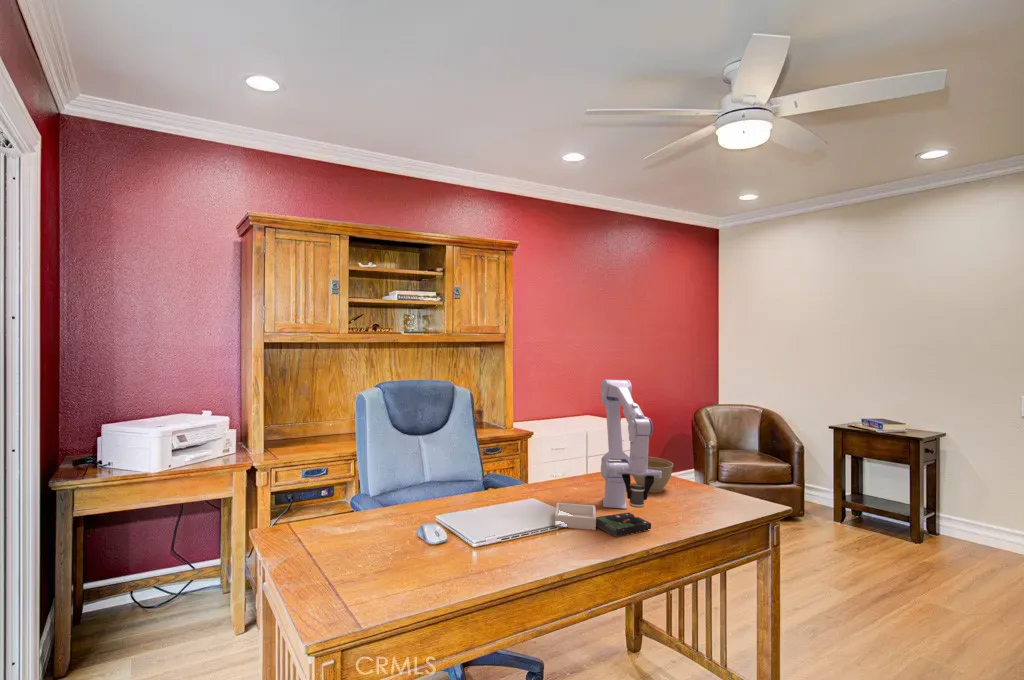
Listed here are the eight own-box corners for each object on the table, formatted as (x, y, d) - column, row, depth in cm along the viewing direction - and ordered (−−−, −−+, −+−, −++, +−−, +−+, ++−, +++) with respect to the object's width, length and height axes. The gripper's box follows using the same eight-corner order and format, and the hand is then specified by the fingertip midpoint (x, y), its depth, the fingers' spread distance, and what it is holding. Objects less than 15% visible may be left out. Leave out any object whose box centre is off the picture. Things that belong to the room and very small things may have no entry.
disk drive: (627, 520, 184) (593, 525, 176) (628, 512, 184) (594, 516, 176) (651, 532, 175) (616, 537, 167) (652, 523, 175) (617, 528, 167)
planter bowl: (621, 488, 218) (623, 461, 218) (641, 481, 230) (642, 454, 230) (660, 498, 208) (661, 469, 207) (678, 489, 220) (680, 462, 220)
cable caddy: (556, 512, 187) (556, 502, 187) (594, 516, 185) (595, 505, 185) (554, 526, 174) (555, 515, 174) (595, 530, 173) (596, 518, 173)
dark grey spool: (628, 502, 182) (629, 484, 181) (643, 503, 181) (644, 485, 181) (629, 507, 177) (630, 488, 177) (644, 508, 176) (645, 489, 176)
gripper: (616, 457, 175) (614, 500, 176) (664, 460, 174) (661, 504, 174) (615, 452, 182) (612, 493, 183) (660, 455, 181) (658, 497, 181)
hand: (636, 498), depth 179 cm, fingers closed on dark grey spool, 4 cm apart
